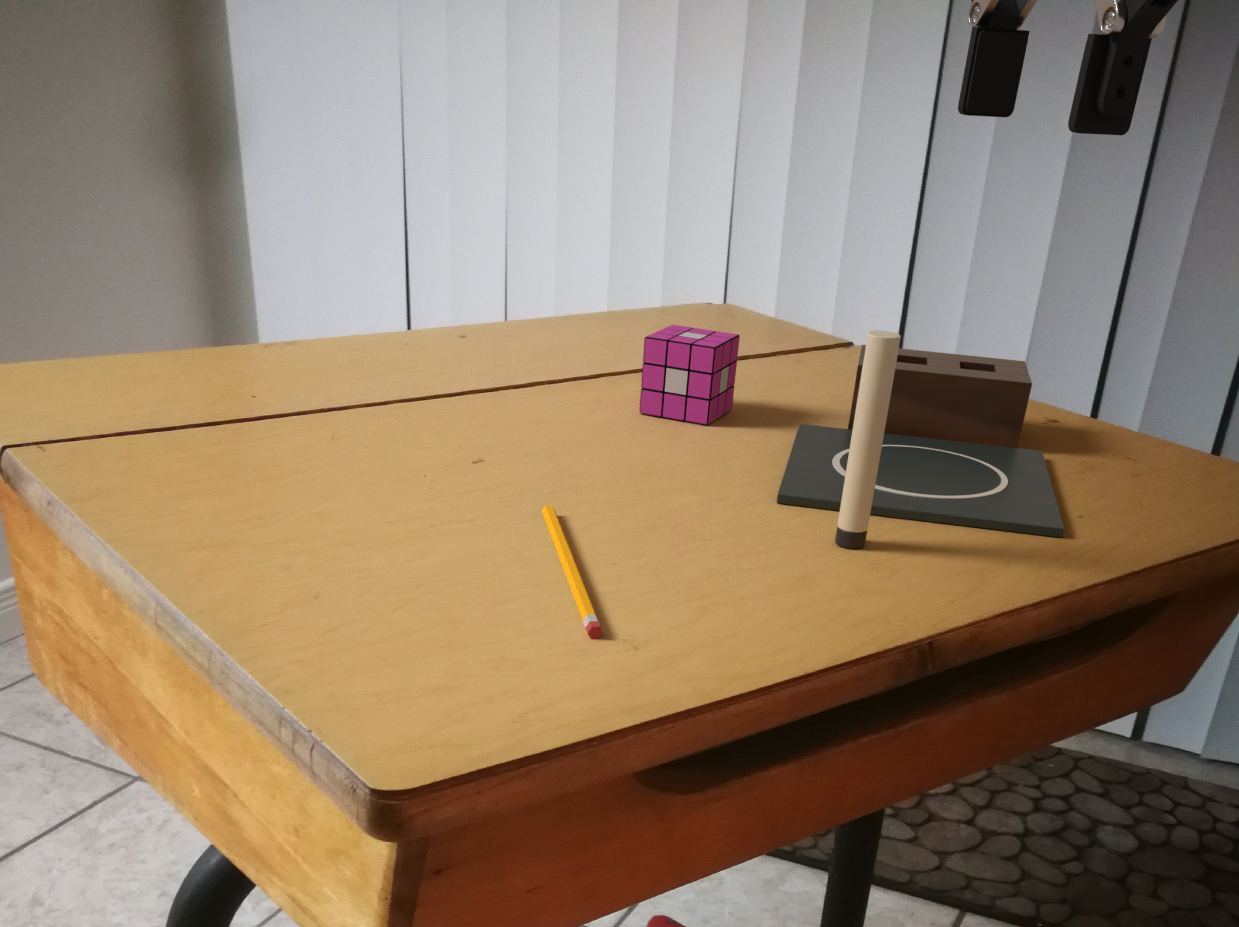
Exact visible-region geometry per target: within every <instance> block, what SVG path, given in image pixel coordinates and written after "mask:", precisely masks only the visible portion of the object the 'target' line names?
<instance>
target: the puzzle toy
mask: <svg viewBox="0 0 1239 927" xmlns="http://www.w3.org/2000/svg"><path fill="white" fill-rule="evenodd" d="M740 338H741V336H740V334H738V333H731V332H726V331H725V332H724V331H719V330H718V331H716V330H713V329H712V330H711V329H705V328H699V327H691V326H685V325H679V324H670V325H669V326H668V325H667V326H666V327H664V328H662V329H659V330H657V331H655V332H653V333H650V334H648V335H646V336H645V337H644V340H643V343H644V344H643V356H642V362H643V363H642V368H641V384H640V387H641V389H640V399H639V414H641V415H645V416H651V417H657V418H663V419H669V420H673V421H674V420H675V421H679V422H686V423H690V424H696V425H702V426H708V425H710V424H712V423H713V422H715V421H716V420H718V419H719V418H721V417H723V415H725V414H727V413H729V412H730V411H731V410H732V409H733V404H734V402H733V401H734V394H735V383H736V376H737V366H738V361H737V360H738V356H739V348H740Z"/></svg>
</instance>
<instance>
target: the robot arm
mask: <svg viewBox="0 0 1239 927" xmlns="http://www.w3.org/2000/svg"><path fill="white" fill-rule="evenodd" d="M1093 1H1094V7H1095V11H1096V16H1097V22H1098V26H1099V30H1100V33H1102V34H1099V33H1087V38H1086V42H1085V45H1084V50H1083V54H1082V59H1081V62H1080V67H1079V72H1078V77H1077V80H1076V86H1075V91H1074V95H1073V98H1072V103H1071V108H1070V113H1069V117H1068V121H1067V126H1068V127H1067V128H1068V130H1069V131H1070V132H1071V133H1074V134H1075V133H1076V134H1084V135H1107V136H1124V135H1126V134H1127V133H1128V132H1129V130H1130V128H1131V125H1132V121H1133V117H1134V113H1135V109H1136V105H1137V101H1138V98H1139V92H1140V90H1141V89H1140V88H1141V85H1142V81H1143V76H1144V72H1145V68H1146V64H1147V60H1148V56H1149V52H1150V48H1151V43H1152V40H1153V39H1156V38H1158V37H1159V36H1161V34H1162V33H1163V31H1164V29H1165V27H1166V23H1167V14H1168V13H1169V12H1170V11H1171V10H1172V9H1173V7H1174V6H1175V5H1176V4H1177V2H1178V1H1179V0H1093ZM970 2H971V5H970V6H969V9H968V14H967V21H968V24H969V26H970V27H971V32H970V38H969V43H968V48H967V54H966V59H965V65H964V71H963V76H962V82H961V89H960V93H959V98H958V105H957V111H958V113H959V114H960V115H963V116H969V117H970V116H971V117H987V118H988V117H990V118H991V117H993V118H1009V117H1010V116H1012V115H1013V113H1014V110H1015V107H1016V102H1017V96H1018V92H1019V86H1020V82H1021V77H1022V73H1023V67H1024V62H1025V57H1026V52H1027V48H1028V43H1029V36H1030V31H1031V30H1025V29H1021V27H1022V26H1023V25H1024V23H1025V22H1026V20H1027V18H1028V16H1029V15H1030V13H1031V11H1032V10H1033V9H1034V8H1035V7H1034V6H1036V3H1037V2H1038V0H970Z"/></svg>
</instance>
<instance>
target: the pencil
mask: <svg viewBox="0 0 1239 927" xmlns="http://www.w3.org/2000/svg"><path fill="white" fill-rule="evenodd" d="M541 512H542V516H543V518H544V520H545V523H546V527H547V529H548V531H549V534H550V537H551V540H552V542H553V545H554V547H555V549H556V553H557V555H558V559H559V562H560V564H561V566H562V569H563V573H564V574H565V577H566V580H567V583H568V586H569V588H570V591H571V593H572V597H573V599H574V602H575V604H576V607H577V609H578V612H579V615H580V618H581V620H582V623H583V625H584V628H585V631H586V633H587V635H588V637H589V639H591V640H599V639H601V637H602V635H603V634H604V631H603V628H602V626H601V624H600V621H599V618H598V616H597V614H596V611H595V608H594V606H593V603H592V601H591V599H590V595H589V593H588V591H587V587H586V586H585V584H584V580H583V578H582V575H581V573H580V571H579V568H578V566H577V563H576V561H575V558H574V555H573V553H572V550H571V548H570V545H569V542H568V540H567V537H566V535H565V533H564V531H563V528H562V525H561V522H560V519H559V518H558V515H557V513H556V510H555V509H554V507H553V505H552V504H546V505H544V507H543V508H542V510H541Z"/></svg>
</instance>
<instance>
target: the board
mask: <svg viewBox="0 0 1239 927" xmlns="http://www.w3.org/2000/svg"><path fill="white" fill-rule="evenodd" d="M851 437H852V430H851V429H848V428H842V427H841V428H840V427H834V426H833V427H832V426H823V425H816V424H815V425H814V424H805V423H799V424H798V427H797V431H796V434H795V438H794V441H793V444H792V447H791V450H790V454H789V456H788V457H789V458H788V460H787V463H786V466H785V468H784V469H785V470H784V473H783V476H782V479H781V483H780V486H779V488H778V492H777V497H776V504H780V505H788V506H789V505H790V506H798V507H805V508H813V509H814V508H815V509H821V510H822V509H823V510H831V511H839V512H840V506H841V500H842V493H843V487H844V481H845V474H846V468H847V462H848V455H849V449H850V443H851ZM871 515H873V516H879V517H887V518H888V517H889V518H896V519H905V520H911V521H912V520H914V521H920V522H929V523H939V524H946V525H955V526H963V527H972V528H980V529H987V530H994V531H995V530H996V531H1003V532H1011V533H1012V532H1013V533H1021V534H1029V535H1037V536H1044V537H1053V538H1063V537H1064V533H1065V525H1064V522H1063V519H1062V515H1061V512H1060V508H1059V506H1058V502H1057V498H1056V495H1055V491H1054V488H1053V483H1052V481H1051V478H1050V473H1049V470H1048V467H1047V464H1046V460H1045V456H1044V453H1043V451H1042V450H1036V449H1030V448H1019V447H1018V448H1012V447H1003V446H994V445H985V444H976V443H967V442H958V441H949V440H940V439H931V438H922V437H913V436H905V435H896V434H887V433H884V437H883V443H882V449H881V455H880V460H879V466H878V472H877V478H876V484H875V489H874V495H873V501H872V507H871V513H870V516H871Z"/></svg>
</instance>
